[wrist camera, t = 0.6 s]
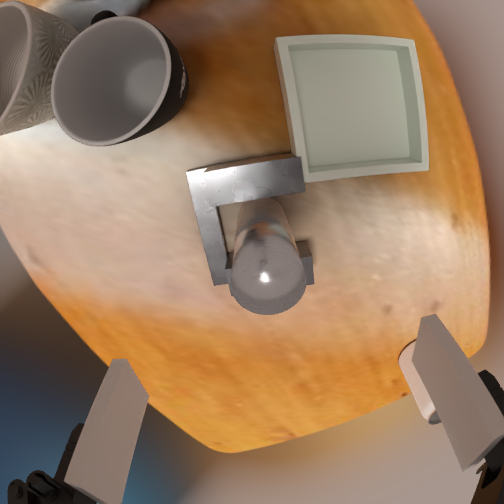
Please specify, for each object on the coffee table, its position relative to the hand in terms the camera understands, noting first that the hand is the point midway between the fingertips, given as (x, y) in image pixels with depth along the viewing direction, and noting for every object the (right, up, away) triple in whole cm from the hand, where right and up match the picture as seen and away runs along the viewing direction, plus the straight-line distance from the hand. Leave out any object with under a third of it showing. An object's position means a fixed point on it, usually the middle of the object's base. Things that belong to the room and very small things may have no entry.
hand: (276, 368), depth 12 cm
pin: (0, +8, +17) cm, 19 cm away
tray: (+8, +19, +12) cm, 24 cm away
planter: (-22, +24, +9) cm, 34 cm away
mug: (-11, +21, +11) cm, 26 cm away
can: (+24, -10, +26) cm, 36 cm away
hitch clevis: (0, +8, +17) cm, 19 cm away
